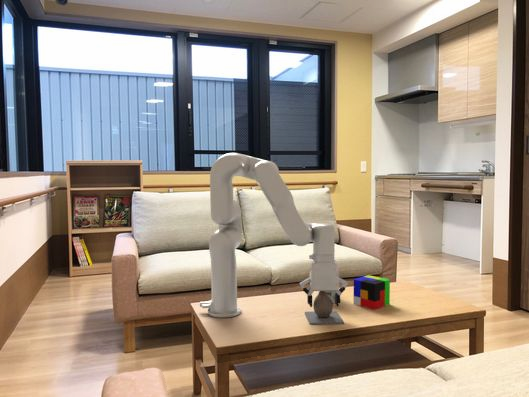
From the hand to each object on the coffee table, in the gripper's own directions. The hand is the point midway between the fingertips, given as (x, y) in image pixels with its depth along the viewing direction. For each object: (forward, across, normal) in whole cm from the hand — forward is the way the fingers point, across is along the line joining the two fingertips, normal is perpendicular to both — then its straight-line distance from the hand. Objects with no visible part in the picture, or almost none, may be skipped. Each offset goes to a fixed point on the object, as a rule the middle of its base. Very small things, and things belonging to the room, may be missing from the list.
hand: (323, 305), depth 151 cm
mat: (+5, 0, 0) cm, 5 cm away
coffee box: (+5, +6, +22) cm, 23 cm away
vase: (+4, 0, 0) cm, 4 cm away
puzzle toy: (+5, +22, +15) cm, 27 cm away
